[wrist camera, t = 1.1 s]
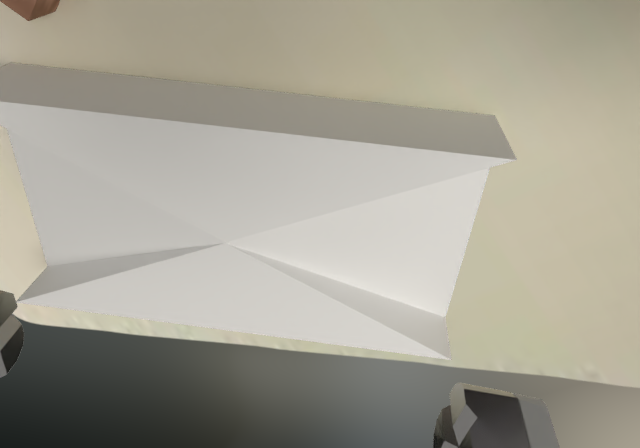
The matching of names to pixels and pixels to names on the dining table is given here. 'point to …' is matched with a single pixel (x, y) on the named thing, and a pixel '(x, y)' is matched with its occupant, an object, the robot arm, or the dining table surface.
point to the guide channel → (32, 7)
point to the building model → (248, 205)
